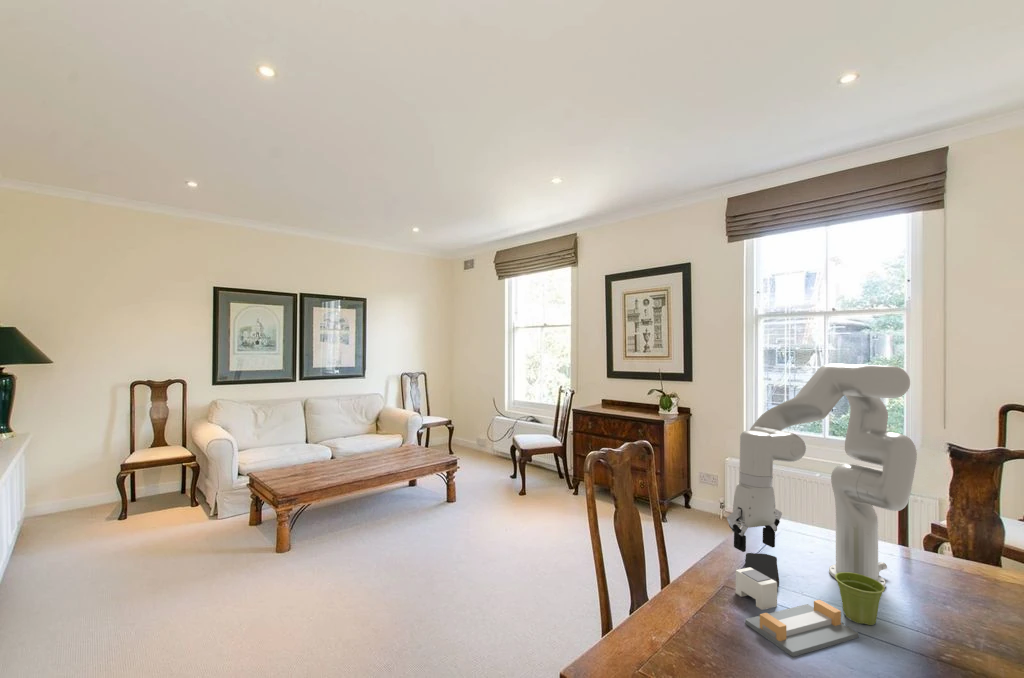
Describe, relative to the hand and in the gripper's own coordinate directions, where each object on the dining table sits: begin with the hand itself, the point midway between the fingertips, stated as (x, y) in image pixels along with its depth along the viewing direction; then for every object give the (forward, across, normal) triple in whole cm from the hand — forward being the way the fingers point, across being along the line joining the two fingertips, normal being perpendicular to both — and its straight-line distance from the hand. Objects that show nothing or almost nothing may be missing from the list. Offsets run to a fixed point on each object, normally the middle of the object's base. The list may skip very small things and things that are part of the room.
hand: (754, 547), depth 115 cm
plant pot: (+13, -18, +14) cm, 26 cm away
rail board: (+13, 0, +13) cm, 19 cm away
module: (+13, -1, 0) cm, 13 cm away
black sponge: (+14, -13, -9) cm, 21 cm away
